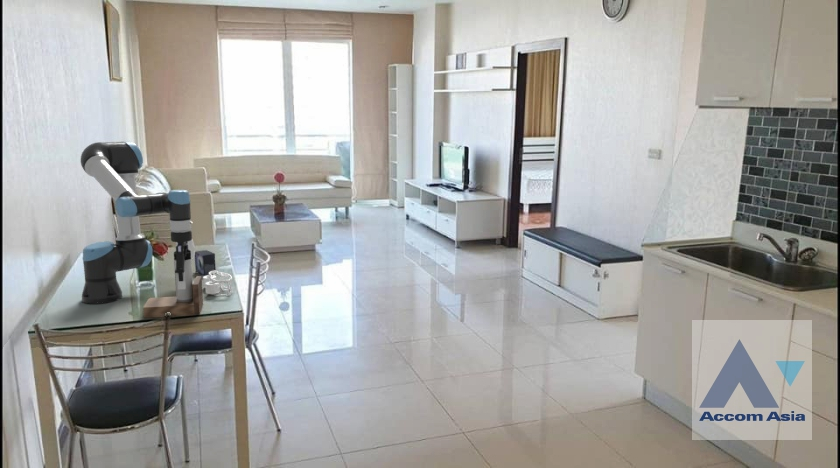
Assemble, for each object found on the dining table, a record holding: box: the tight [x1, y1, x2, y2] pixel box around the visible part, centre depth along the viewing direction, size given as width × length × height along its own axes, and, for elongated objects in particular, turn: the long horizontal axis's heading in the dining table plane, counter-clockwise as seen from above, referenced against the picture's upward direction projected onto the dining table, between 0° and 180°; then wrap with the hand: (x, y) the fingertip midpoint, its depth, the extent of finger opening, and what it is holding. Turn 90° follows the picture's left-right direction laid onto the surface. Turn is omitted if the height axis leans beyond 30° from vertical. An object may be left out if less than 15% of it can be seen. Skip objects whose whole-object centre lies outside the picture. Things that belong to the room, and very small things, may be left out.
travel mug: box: [173, 250, 194, 303], centre depth 242 cm, size 6×7×20 cm
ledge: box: [142, 275, 204, 318], centre depth 243 cm, size 20×13×12 cm, turn 103°
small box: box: [194, 249, 217, 277], centre depth 301 cm, size 11×6×10 cm, turn 42°
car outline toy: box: [202, 269, 234, 297], centre depth 271 cm, size 20×11×7 cm, turn 24°
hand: (184, 284), depth 243 cm, fingers open, 13 cm apart
